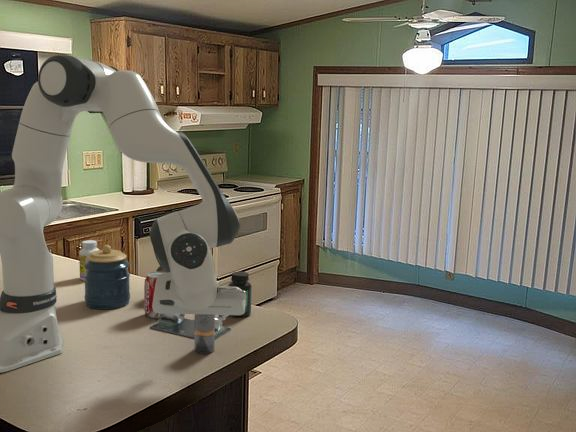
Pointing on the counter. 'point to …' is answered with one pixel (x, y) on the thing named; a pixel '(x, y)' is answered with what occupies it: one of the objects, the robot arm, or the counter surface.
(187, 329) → the shaft station
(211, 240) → the robot arm
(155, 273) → the soda can
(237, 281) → the supplement bottle
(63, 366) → the counter surface
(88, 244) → the supplement bottle
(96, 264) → the canister
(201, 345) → the sleeve
